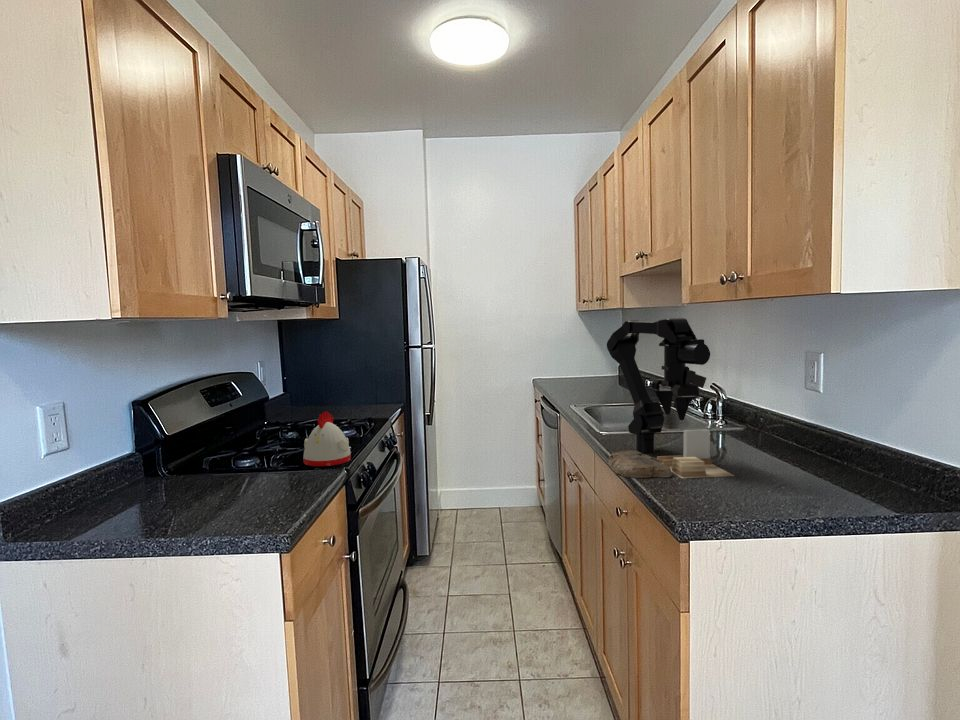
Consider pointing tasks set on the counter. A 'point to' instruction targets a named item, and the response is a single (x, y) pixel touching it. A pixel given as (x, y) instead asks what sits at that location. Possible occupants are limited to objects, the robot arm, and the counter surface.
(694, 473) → the tan wooden square tile
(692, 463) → the pine offcut
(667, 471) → the craggy brown boulder
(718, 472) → the rack
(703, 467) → the oak offcut
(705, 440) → the panel
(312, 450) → the kitchen timer
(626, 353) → the robot arm
